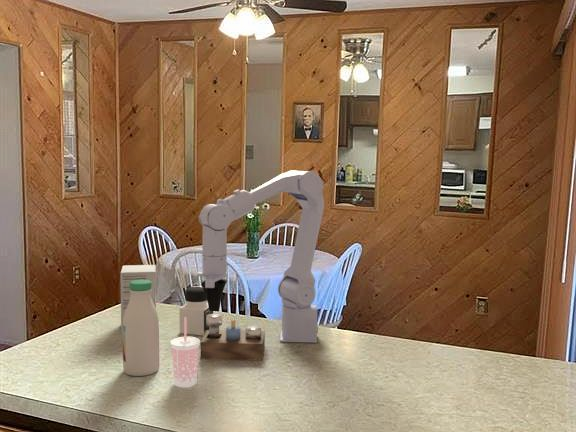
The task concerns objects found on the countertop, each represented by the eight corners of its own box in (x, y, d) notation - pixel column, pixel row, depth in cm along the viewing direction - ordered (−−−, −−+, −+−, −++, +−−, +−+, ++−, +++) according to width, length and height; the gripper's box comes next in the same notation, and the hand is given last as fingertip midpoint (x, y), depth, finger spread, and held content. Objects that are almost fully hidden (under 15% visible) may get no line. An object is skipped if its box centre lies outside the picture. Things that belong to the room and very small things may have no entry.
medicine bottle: (204, 335, 142) (204, 291, 140) (179, 333, 143) (178, 289, 142) (213, 327, 149) (213, 285, 147) (189, 325, 150) (189, 283, 149)
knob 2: (261, 349, 132) (261, 326, 131) (260, 354, 128) (260, 331, 127) (246, 348, 132) (246, 325, 131) (244, 354, 128) (244, 330, 127)
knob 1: (223, 337, 131) (223, 314, 131) (220, 342, 128) (221, 318, 127) (207, 336, 132) (207, 313, 131) (204, 341, 128) (205, 318, 127)
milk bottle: (166, 367, 120) (166, 279, 118) (143, 379, 113) (142, 287, 111) (139, 361, 123) (138, 276, 121) (115, 373, 116) (114, 283, 114)
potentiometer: (241, 335, 130) (241, 318, 130) (239, 340, 127) (239, 322, 126) (227, 335, 130) (227, 317, 130) (225, 340, 127) (225, 322, 126)
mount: (264, 346, 134) (264, 331, 134) (262, 360, 125) (262, 343, 125) (206, 345, 134) (206, 330, 134) (200, 358, 125) (200, 342, 125)
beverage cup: (206, 380, 113) (206, 316, 112) (187, 391, 108) (187, 323, 106) (183, 374, 116) (183, 311, 115) (164, 384, 111) (163, 319, 109)
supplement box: (122, 323, 151) (122, 264, 149) (156, 322, 153) (156, 264, 151) (120, 334, 141) (119, 272, 140) (156, 332, 144) (156, 271, 142)
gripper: (203, 249, 135) (202, 302, 136) (191, 260, 120) (191, 318, 122) (231, 249, 135) (230, 302, 136) (223, 260, 120) (222, 319, 122)
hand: (214, 310), depth 129 cm, fingers closed
